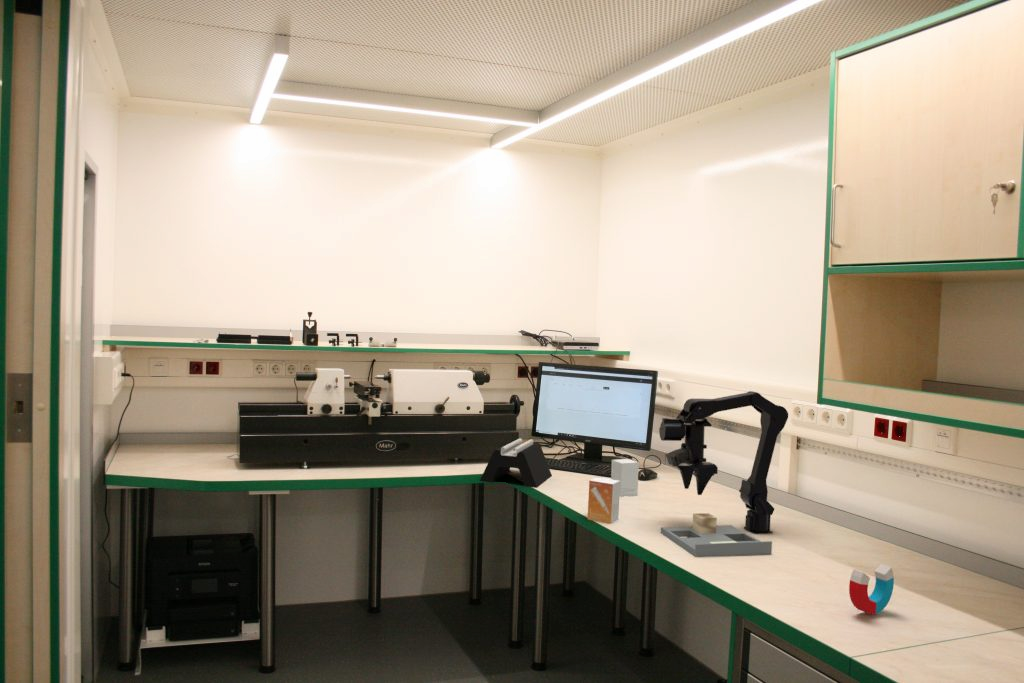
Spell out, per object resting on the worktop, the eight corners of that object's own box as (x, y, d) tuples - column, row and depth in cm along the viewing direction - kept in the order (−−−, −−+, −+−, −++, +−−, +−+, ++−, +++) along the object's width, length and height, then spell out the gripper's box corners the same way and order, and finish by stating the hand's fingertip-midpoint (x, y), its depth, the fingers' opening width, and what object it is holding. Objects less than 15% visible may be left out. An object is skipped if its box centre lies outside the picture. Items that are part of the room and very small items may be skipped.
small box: (587, 521, 236) (588, 480, 236) (595, 517, 242) (596, 476, 241) (611, 525, 232) (613, 483, 232) (618, 521, 238) (620, 480, 237)
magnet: (881, 606, 174) (884, 563, 173) (892, 610, 171) (895, 566, 171) (847, 614, 168) (849, 569, 168) (858, 618, 166) (860, 573, 165)
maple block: (707, 528, 226) (708, 513, 226) (716, 533, 221) (716, 517, 221) (692, 528, 225) (693, 513, 225) (700, 533, 220) (701, 518, 220)
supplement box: (638, 497, 271) (639, 462, 270) (619, 498, 268) (621, 463, 268) (627, 492, 278) (629, 458, 277) (609, 493, 275) (611, 459, 274)
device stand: (478, 485, 282) (480, 445, 281) (497, 473, 304) (499, 436, 303) (536, 491, 275) (538, 450, 275) (552, 479, 297) (553, 441, 296)
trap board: (660, 533, 225) (661, 522, 225) (730, 531, 231) (730, 520, 231) (695, 557, 204) (696, 544, 204) (771, 554, 210) (772, 541, 210)
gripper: (656, 436, 237) (655, 485, 237) (684, 446, 219) (683, 500, 219) (689, 435, 240) (687, 484, 240) (719, 445, 222) (717, 498, 222)
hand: (692, 491), depth 230 cm, fingers open, 8 cm apart
